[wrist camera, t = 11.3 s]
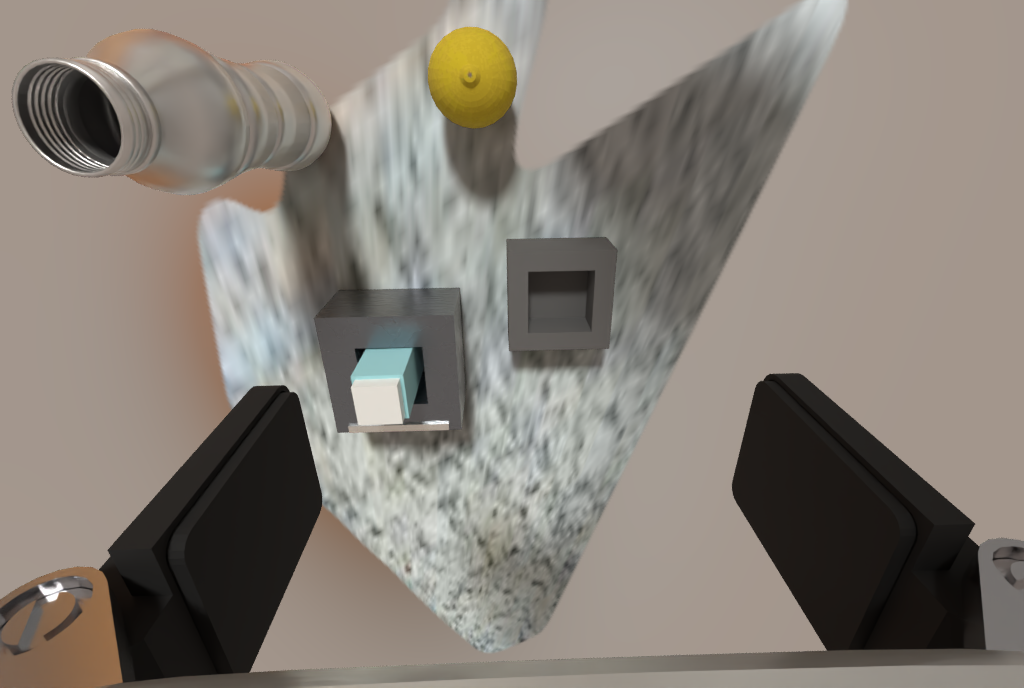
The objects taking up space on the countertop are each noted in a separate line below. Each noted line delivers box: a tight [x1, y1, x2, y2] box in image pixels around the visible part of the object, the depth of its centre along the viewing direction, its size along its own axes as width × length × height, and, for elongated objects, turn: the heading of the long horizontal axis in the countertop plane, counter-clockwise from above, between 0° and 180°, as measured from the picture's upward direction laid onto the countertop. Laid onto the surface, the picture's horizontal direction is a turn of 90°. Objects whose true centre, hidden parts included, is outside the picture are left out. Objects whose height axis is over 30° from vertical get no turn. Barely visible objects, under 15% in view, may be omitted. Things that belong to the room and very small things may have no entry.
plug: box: [351, 347, 424, 426], centre depth 36 cm, size 4×4×10 cm
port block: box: [314, 288, 466, 433], centre depth 39 cm, size 10×10×6 cm
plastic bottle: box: [12, 29, 332, 195], centre depth 25 cm, size 6×7×20 cm
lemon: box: [428, 27, 517, 128], centre depth 30 cm, size 6×6×8 cm
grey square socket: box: [507, 237, 617, 351], centre depth 38 cm, size 8×8×4 cm
